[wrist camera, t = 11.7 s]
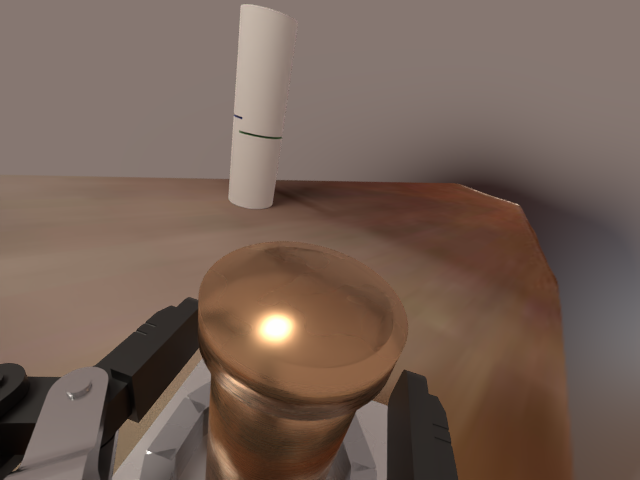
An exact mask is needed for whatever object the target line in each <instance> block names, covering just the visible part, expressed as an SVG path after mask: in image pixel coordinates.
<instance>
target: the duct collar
mask: <svg viewBox="0 0 640 480" xmlns="http://www.w3.org/2000/svg"><path fill="white" fill-rule="evenodd" d="M210 385H211V373H210V371H209V370H208V368H207V366H206V365H205V363H204V360H203V358H202V359H201V361H200V362H199V363H198V365H197V366H196V367H195V369H194V370H193V371H192V373H191V374H190V375H189V377H188V378H187V379H186V380H185V382H184V383H183V384H182V386H181V387H180V388H179V390H178V391H177V392H176V394H175V395H174V396H173V398H172V399H171V400H170V402H169V403H168V404H167V405H166V407H165V408H164V409H163V411H162V412H161V413H160V415H159V416H158V417H157V419H156V420H155V421H154V423H153V424H152V425H151V427H150V428H149V429H148V430H147V432H146V433H145V434H144V436H143V437H142V438H141V440H140V441H139V442H138V444H137V445H136V446H135V448H134V449H133V450H132V451H131V453H130V454H129V455H128V457H127V458H126V459H125V461H124V462H123V463H122V465H121V466H120V467H119V469H118V470H117V471H116V473H115V474H114V475H113V476H112V480H205V474H206V456H207V439H208V421H209V403H210ZM387 410H388V406H386V405H384V404H381V403H378V402H375V401H372V400H371V401H370V402H369V403H368V404H366V405H364V406H363V407H361V408H360V409H358V410H357V411H356V413H355V415H354V418H353V420H352V422H351V424H350V426H349V429H348V431H347V433H346V435H345V437H344V440H343V442H342V444H341V446H340V448H339V451H338V453H337V455H336V457H335V460H334V462H333V464H332V466H331V468H330V471H329V473H328V475H327V477H326V479H325V480H387Z"/></svg>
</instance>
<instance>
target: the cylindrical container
mask: <svg viewBox="0 0 640 480" xmlns="http://www.w3.org/2000/svg"><path fill="white" fill-rule="evenodd" d="M297 27H298V22H297V20H295V19H294V18H292V17H290V16H288V15H286V14H284V13H281V12H278V11H275V10H272V9H269V8H266V7H261V6H257V5H251V4H243V5H241V11H240V27H239V43H238V60H237V75H236V89H235V90H236V91H235V105H234V114H235V115H234V119H233V136H232V153H231V167H230V182H229V197H228V198H229V201H230V202H231V203H233V204H235V205H237V206H240V207H244V208H249V209H265V208H268V207H270V206H272V204H273V198H274V191H275V183H276V176H277V169H278V161H279V155H280V148H281V141H282V134H283V126H284V120H285V113H286V105H287V98H288V91H289V84H290V77H291V70H292V62H293V55H294V49H295V41H296V34H297Z"/></svg>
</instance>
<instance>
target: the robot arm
mask: <svg viewBox="0 0 640 480" xmlns="http://www.w3.org/2000/svg"><path fill="white" fill-rule="evenodd" d="M198 301H199V300H197V299H194V298H191V297H188V298H186V299H185V300H184V301H183V302H182V303H181V304H179V305H178V306H177V307H174V306H169V307H167V308H165V309H163V310H161V311H158V312H157V313H155V314H154V315H153V316H152V317H151V318H150V319H148V320H147V321H146V323H145V324H143V325H142V326H140V327H139V328H138V329H137V331H136V332H133V333H132V334H131V335H130V336H129V337H128V338H126V339H125V340H124V341H123V342H122V343H121V344H120V345H118V346H117V347H116V348H115V349H114V350H113V351H111V352H110V353H109V354H108V355H107V356H106V357H105V358H103V359H102V360H101V361H100V362H99V363H97V364H96V365H95V366H93V367H84V368H80V369H77V370H74V371H72V372H70V373H68V374H66V375H64V376H63V377H27V375H26V372H25V370H24V368H23V367H22V366H20V365H18V364H14V363H5V364H0V480H112V475H113V468H114V461H115V454H116V447H117V440H118V433H119V428H120V427H121V426H122V424H123V423H124V422H125V421H126V420H127V419H130V420H132V421H135V422H137V423H139V422H140V420H141V419H142V418H143V417H144V415H145V414H146V413H147V412H148V410H149V409H150V408H151V407H152V405H153V404H154V403H155V402H156V400H157V399H158V398H159V397H160V395H161V394H162V393H163V392H164V390H165V389H166V388H167V387H168V386H169V384H170V383H171V382H172V381H173V379H174V378H175V377H176V376H177V374H178V373H179V372H180V371H181V369H182V368H183V367H184V366H185V364H186V363H187V362H188V361H189V359H190V358H191V357H192V356H193V354H194V353H195V352H196V351H197V349H198V348H199V343H198ZM448 430H449V427H448V422H447V417H446V412H445V410H444V408H443V407H442V405H441V403H440V401H439V399H438V397H436V396H433V395H430V394H428V387H427V380H426V378H425V376H422V375H419V374H416V373H413V372H410V371H407V370H404V371H403V372H402V374H401V376H400V378H399V380H398V382H397V384H396V385H395V387H394V389H393V391H392V393H391V396H390V399H389V403H388V410H387V480H458V476H457V470H456V465H455V460H454V454H453V449H452V446H451V438H450V433H449V432H448ZM21 462H22V463H21ZM20 463H21V465H20V467H19V468H18V469H17V470H16V471H13V470H14V469H15V468H16V467H17V466H18V465H19V464H20ZM12 471H13V472H12Z"/></svg>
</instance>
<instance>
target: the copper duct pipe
mask: <svg viewBox="0 0 640 480" xmlns="http://www.w3.org/2000/svg"><path fill="white" fill-rule="evenodd" d="M407 335H408V321H407V315H406V312H405V309H404V307H403V305H402V303H401V301H400V299H399V297H398V296H397V294H396V293H395V291H394V290H393V289H392V288H391V287H390V285H389V284H388V283H387V282H386V281H385V280H384V279H383V278H382V277H381V276H379V275H378V274H377V273H376V272H374V271H373V270H372V269H370V268H369V267H367V266H366V265H364V264H363V263H361V262H359V261H357V260H356V259H354V258H352V257H350V256H347V255H345V254H343V253H340V252H338V251H335V250H332V249H329V248H325V247H322V246H318V245H313V244H308V243H301V242H289V241H277V242H265V243H258V244H254V245H249V246H246V247H243V248H240V249H238V250H235V251H233V252H231V253H229V254H227V255H226V256H224V257H222V258H221V259H220V260H218V261H217V262H216V263H215V264H214V265H213V266H212V267H211V268H210V269H209V271H208V272H207V273H206V275H205V276H204V278H203V281H202V283H201V286H200V290H199V301H198V343H199V349H200V353H201V355H202V358H203V360H204V363H205V365H206V366H207V368H208V370H209V371H210V373H211V385H210V403H209V421H208V439H207V456H206V474H205V480H325V479H326V477H327V475H328V473H329V471H330V468H331V466H332V464H333V462H334V460H335V457H336V455H337V453H338V451H339V448H340V446H341V444H342V442H343V440H344V437H345V435H346V433H347V431H348V429H349V426H350V424H351V422H352V420H353V418H354V415H355V413H356V411H357V410H358V409H360V408H361V407H363V406H364V405H366V404H368V403H369V402H370V401H371V400H372V399H374V398H375V397H376V396H377V395H378V394H379V393H380V391H381V390H382V388H383V387H384V386H385V384H386V382H387V380H388V378H389V376H390V374H391V372H392V370H393V368H394V366H395V364H396V362H397V360H398V358H399V356H400V354H401V352H402V350H403V348H404V346H405V344H406V340H407Z"/></svg>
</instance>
